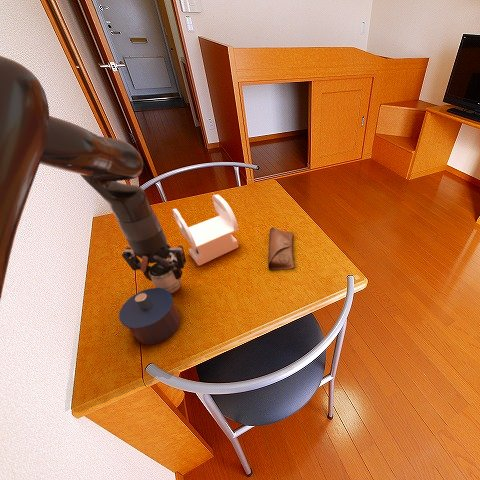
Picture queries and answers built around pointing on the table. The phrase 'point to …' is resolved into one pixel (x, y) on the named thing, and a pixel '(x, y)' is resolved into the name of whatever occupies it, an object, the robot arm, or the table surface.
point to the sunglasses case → (280, 250)
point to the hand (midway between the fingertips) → (165, 277)
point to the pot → (159, 329)
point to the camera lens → (164, 277)
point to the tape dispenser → (210, 233)
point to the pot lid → (146, 308)
